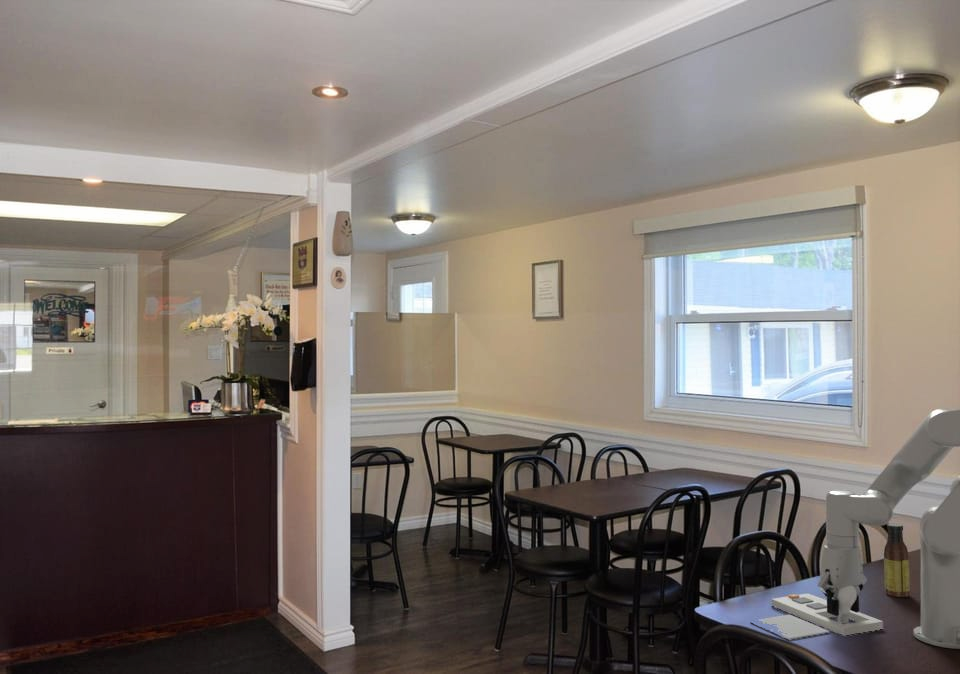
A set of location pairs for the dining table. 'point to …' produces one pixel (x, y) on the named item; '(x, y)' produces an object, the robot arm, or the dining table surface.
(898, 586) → the sauce bottle
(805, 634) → the mat
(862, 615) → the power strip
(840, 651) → the dining table surface
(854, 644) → the dining table surface
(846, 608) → the lightbulb
